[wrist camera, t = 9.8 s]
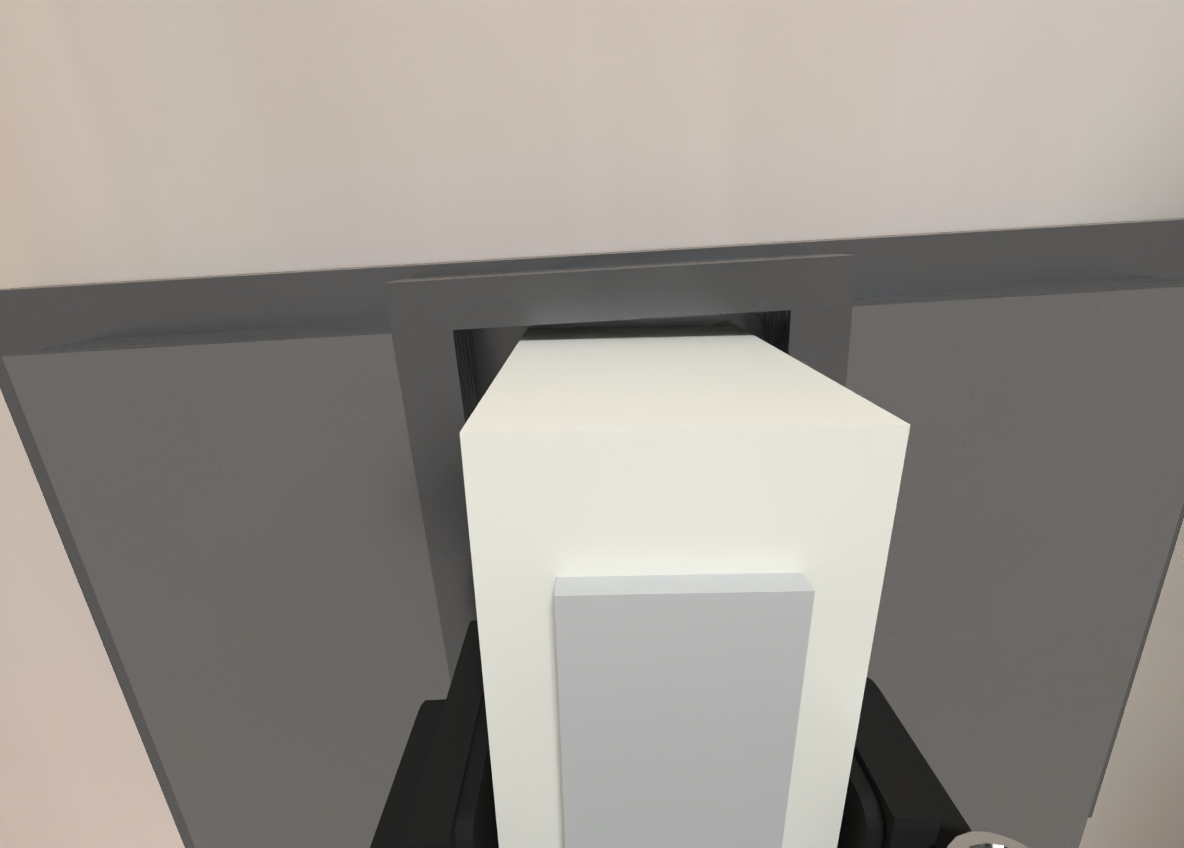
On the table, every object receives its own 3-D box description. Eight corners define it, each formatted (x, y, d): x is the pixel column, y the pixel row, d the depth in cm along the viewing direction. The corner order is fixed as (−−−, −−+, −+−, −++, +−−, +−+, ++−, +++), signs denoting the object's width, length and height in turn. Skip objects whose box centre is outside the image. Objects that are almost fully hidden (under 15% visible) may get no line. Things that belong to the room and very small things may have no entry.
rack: (1207, 216, 11) (1417, 208, 8) (1055, 776, 16) (1157, 892, 13) (24, 287, 11) (-164, 303, 9) (219, 820, 16) (140, 945, 13)
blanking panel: (736, 325, 11) (930, 435, 5) (705, 791, 14) (790, 1183, 8) (527, 329, 11) (451, 444, 5) (551, 794, 14) (526, 1189, 8)
